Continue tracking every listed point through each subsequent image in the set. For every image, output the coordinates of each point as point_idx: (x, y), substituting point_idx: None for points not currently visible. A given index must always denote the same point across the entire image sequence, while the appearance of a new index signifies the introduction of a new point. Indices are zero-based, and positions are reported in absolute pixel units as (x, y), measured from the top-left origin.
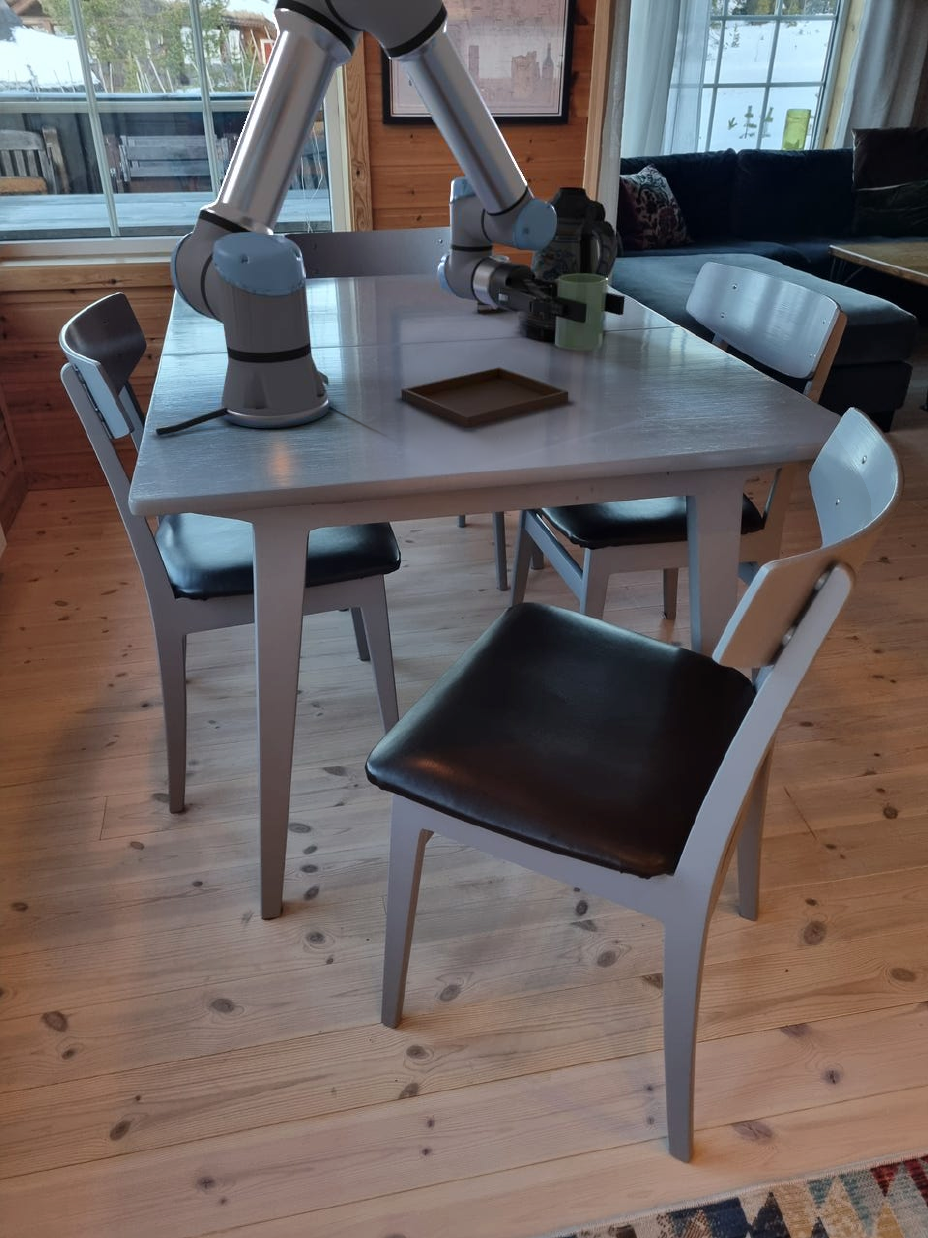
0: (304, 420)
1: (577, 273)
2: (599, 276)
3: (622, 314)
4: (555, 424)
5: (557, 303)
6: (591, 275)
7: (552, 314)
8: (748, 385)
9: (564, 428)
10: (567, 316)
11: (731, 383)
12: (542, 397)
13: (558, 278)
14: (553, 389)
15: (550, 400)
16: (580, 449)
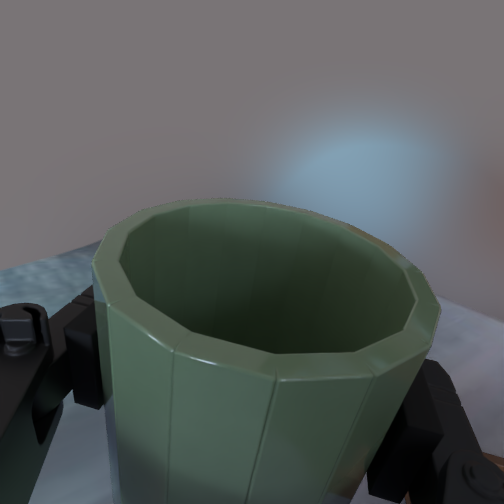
0: None
1: (125, 305)
2: (152, 220)
3: None
4: (488, 407)
5: (436, 401)
6: (124, 248)
7: (402, 499)
8: (90, 266)
9: (479, 387)
10: None
11: (87, 280)
12: (495, 459)
13: (428, 345)
14: None
15: None
16: (492, 340)
